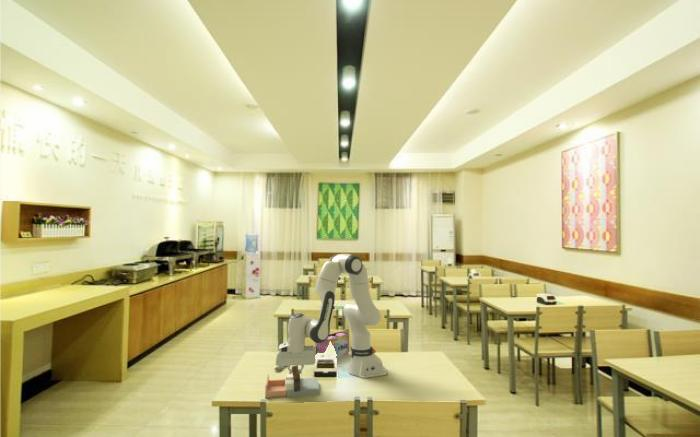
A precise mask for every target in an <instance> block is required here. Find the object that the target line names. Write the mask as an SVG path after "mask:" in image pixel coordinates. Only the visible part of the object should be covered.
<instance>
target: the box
mask: <svg viewBox="0 0 700 437" xmlns="http://www.w3.org/2000/svg"><path fill="white" fill-rule="evenodd" d="M265 381H266V382H265V388H264V389H265V393H264V395H265V396H264V397H265V399H271V398H286V397H287V390H285V387H286V378H285V379H270V374H267V376H266V380H265Z"/></svg>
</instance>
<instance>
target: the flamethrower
mask: <svg viewBox="0 0 700 437" xmlns="http://www.w3.org/2000/svg"><path fill="white" fill-rule="evenodd" d="M284 368H286V366H276V367H275V368H274V371H277V372H279V371H281V370H282V369H284Z"/></svg>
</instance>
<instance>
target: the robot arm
mask: <svg viewBox="0 0 700 437" xmlns="http://www.w3.org/2000/svg"><path fill="white" fill-rule="evenodd" d="M341 274H348V280H349V281H348V282H349V293H350V297H351V298H352V299H353V300H354V302H348V303H346V304H345V305H344V307H343V309H342V310H343V311H342V312H343V313H342V314H343V317H344V318H345V319H346V320H347V322H348V325H349V329H350V332H351V334H350V335H351V346H350V362H349V367H348V373H349V375H352V376H355V377H359V378H361V379H368V378H374V377H380V376H381V377H382V376H386V375H388V371H387V368H386V367H385V366H384V364H383V361H382V359H381V357H379V356H378V355H376V349H375V348H374V347H372V346H371V333H370V331H369V330H368V328H367V327H366V326H369V327H370V326H371V327H372V326H373V327H374V326H377V325H379V322H380V321H381V312H380V310H379V309H378V308H377V307H376V305H375V304H374V301H373V300H372V296H371V293H370V286H369V276H368V272H367V268H366V266H365V264H364V263H363V262H362V259H361V258H360V257H359V256H357V255H355V254H350V253H336V254H335V253H334V255H332V256H331V257H330V260H327V261H325V262H324V263H323V265H322V267H321V269H320V271H319V274H318V275H317V278H316V282H315V292H316V293H317V295H318V297H319V299H320V302H321V308H320V311H319V315H318V319H316V318H314V317H309V316H307V315H305V314H303V313H294V314H291V316H289V319H288V323H287V324H288V325H287V334H288V338H287V341H285V342H282V343H280V344H279V345H278V350H277V353H276V357H275V365H276V367H278V366H282V367H283V366H285V367H287V370H288V372H289V373H288V374H293V373H292V368H291V367H292V366H296V365H298V366H300V368H298V370H299V374H300V375H301V374H302V373H303V369H304V368H305V366H307V365H309V366H310V365H312V366H313V365H315V364H316V359H315V353H316V347H315V345H306V342H305V341H306V338H309V339H311V341H313V342H314V343H323V342H324V341H326V340H327V338H328V337H329V334H331V319H332V316H333V310H334V306H335V299H336V296H335V295H336V289H337V284H338V282H339V278H340V276H341Z"/></svg>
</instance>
